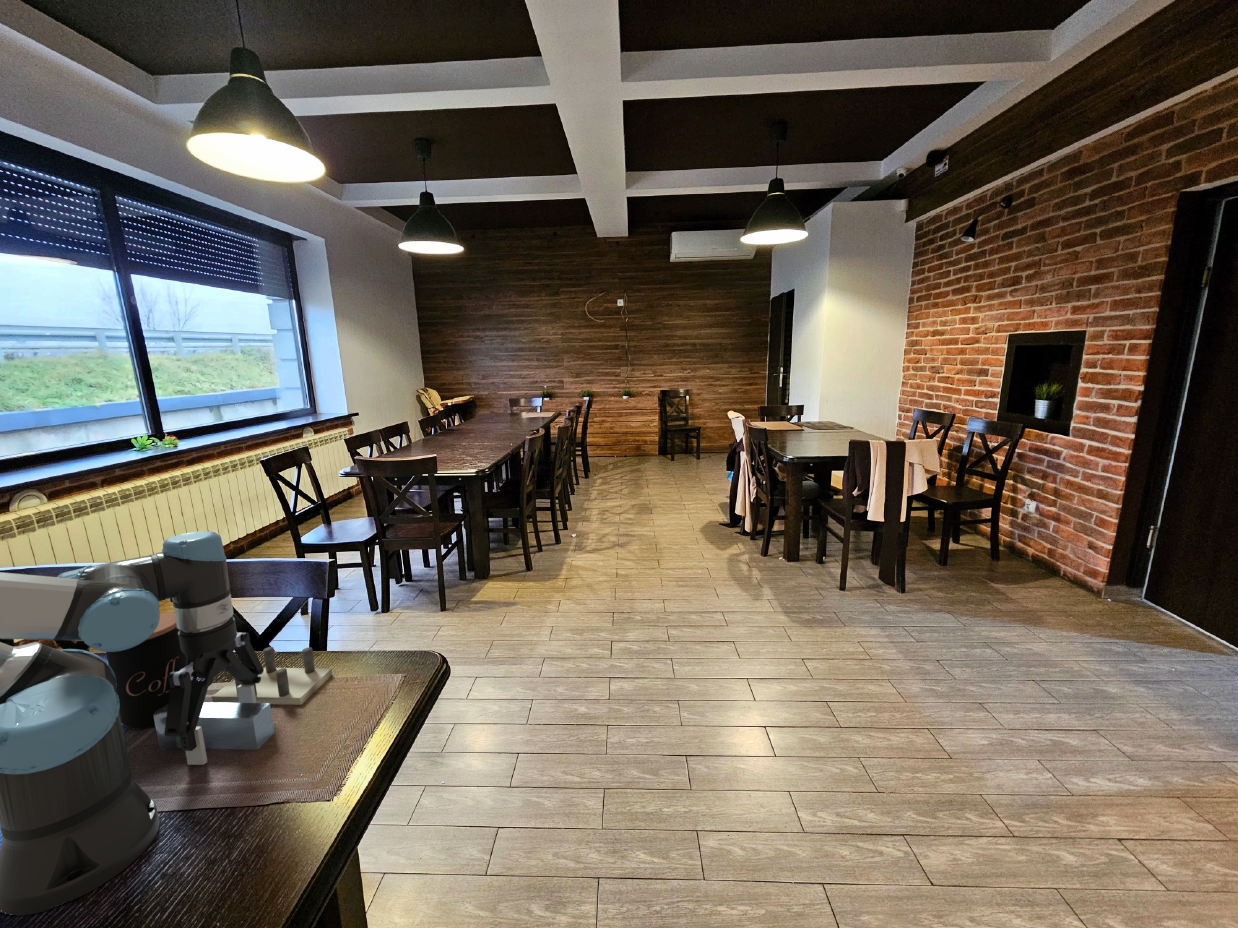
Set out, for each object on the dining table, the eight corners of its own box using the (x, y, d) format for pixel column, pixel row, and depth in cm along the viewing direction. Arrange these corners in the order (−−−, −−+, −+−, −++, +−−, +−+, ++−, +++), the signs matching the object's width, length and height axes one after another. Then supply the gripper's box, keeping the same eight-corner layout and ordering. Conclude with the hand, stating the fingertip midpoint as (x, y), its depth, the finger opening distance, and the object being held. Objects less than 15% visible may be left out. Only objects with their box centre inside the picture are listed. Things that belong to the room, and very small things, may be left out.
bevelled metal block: (276, 730, 91) (272, 701, 90) (255, 752, 86) (250, 720, 85) (178, 729, 92) (172, 699, 91) (150, 749, 87) (144, 718, 86)
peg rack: (301, 704, 98) (297, 674, 97) (212, 703, 99) (207, 673, 98) (332, 674, 108) (328, 646, 107) (251, 673, 109) (247, 646, 108)
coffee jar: (127, 740, 89) (108, 646, 86) (115, 716, 96) (97, 628, 93) (202, 708, 98) (188, 622, 95) (187, 688, 104) (173, 607, 101)
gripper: (164, 660, 74) (187, 792, 77) (276, 593, 96) (290, 697, 100) (115, 660, 74) (141, 791, 78) (239, 593, 97) (254, 697, 100)
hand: (225, 738), depth 89 cm, fingers open, 11 cm apart
